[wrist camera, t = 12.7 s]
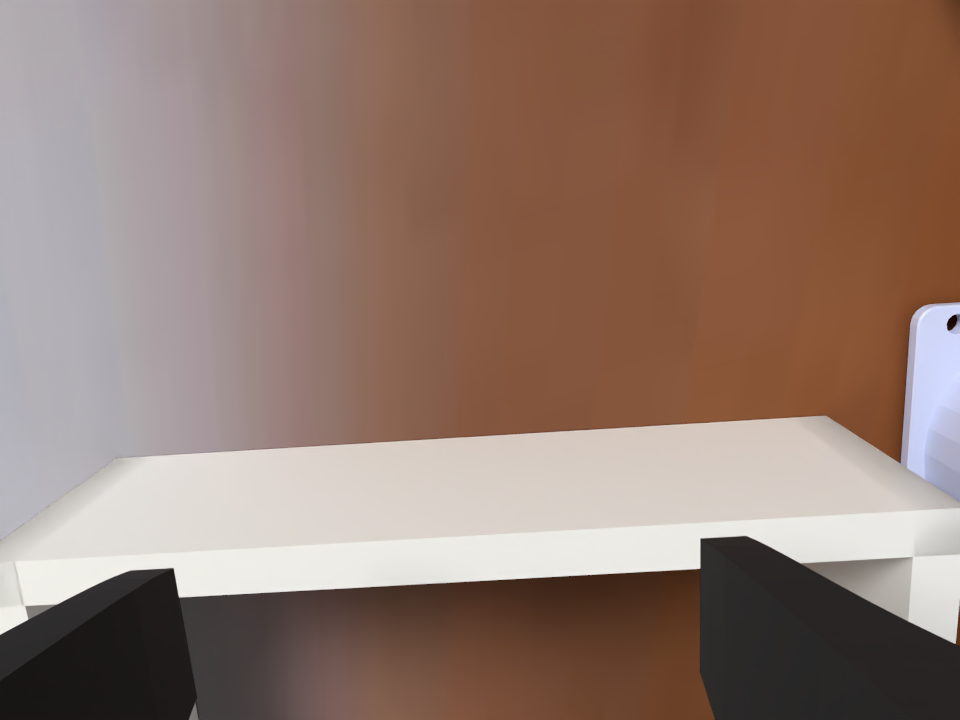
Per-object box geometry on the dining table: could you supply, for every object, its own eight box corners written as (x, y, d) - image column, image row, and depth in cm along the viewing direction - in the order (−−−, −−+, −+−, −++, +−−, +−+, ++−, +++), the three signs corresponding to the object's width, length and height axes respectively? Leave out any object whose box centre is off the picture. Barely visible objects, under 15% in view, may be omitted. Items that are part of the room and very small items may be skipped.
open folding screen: (826, 415, 20) (968, 507, 14) (810, 779, 22) (924, 984, 17) (116, 458, 20) (-34, 564, 14) (183, 809, 23) (80, 1018, 17)
